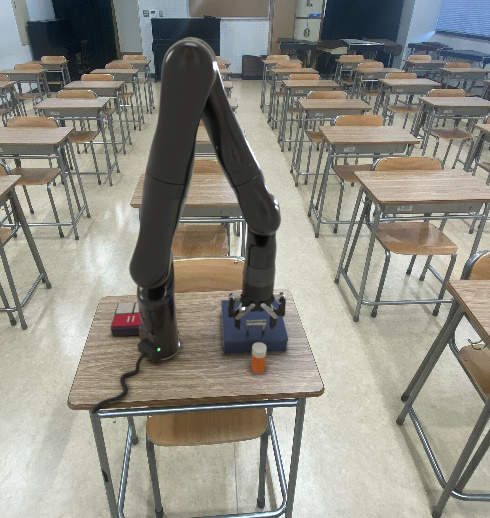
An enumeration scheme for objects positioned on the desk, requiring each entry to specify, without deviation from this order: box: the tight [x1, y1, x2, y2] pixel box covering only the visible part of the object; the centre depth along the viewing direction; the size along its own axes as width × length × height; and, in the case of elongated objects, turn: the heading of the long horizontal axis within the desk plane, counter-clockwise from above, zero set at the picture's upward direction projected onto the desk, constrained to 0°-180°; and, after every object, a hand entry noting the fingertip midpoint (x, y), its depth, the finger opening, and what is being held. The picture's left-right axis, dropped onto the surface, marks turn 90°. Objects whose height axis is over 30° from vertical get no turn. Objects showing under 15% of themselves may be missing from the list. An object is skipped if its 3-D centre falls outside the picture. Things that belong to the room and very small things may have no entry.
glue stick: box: [250, 342, 267, 374], centre depth 99 cm, size 4×4×8 cm
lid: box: [220, 299, 289, 343], centre depth 107 cm, size 16×17×5 cm
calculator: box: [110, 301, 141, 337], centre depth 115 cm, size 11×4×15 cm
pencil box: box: [220, 305, 288, 354], centre depth 111 cm, size 16×17×5 cm
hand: (254, 327), depth 102 cm, fingers open, 8 cm apart
